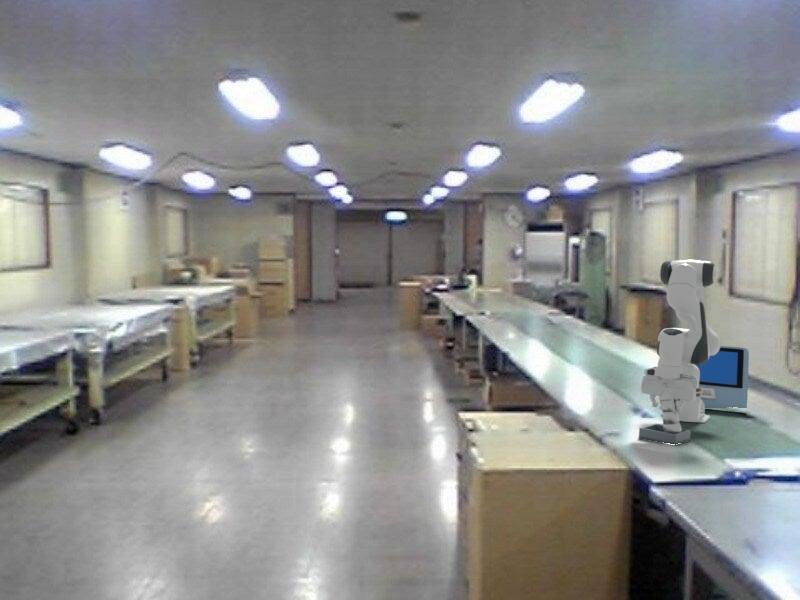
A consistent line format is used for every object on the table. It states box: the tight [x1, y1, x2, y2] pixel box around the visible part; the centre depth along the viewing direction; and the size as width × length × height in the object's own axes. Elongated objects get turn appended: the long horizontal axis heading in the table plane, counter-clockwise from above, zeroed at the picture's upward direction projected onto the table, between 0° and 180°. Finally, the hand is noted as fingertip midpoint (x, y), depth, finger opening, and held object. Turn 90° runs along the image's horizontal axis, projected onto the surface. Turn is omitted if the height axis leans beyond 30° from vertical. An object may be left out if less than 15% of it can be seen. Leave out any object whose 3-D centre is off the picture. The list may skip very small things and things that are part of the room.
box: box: [638, 423, 692, 445], centre depth 298 cm, size 14×14×4 cm
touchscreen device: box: [694, 345, 750, 409], centre depth 376 cm, size 35×20×30 cm, turn 73°
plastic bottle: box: [658, 383, 683, 434], centre depth 297 cm, size 6×7×20 cm
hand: (666, 409), depth 298 cm, fingers open, 8 cm apart
